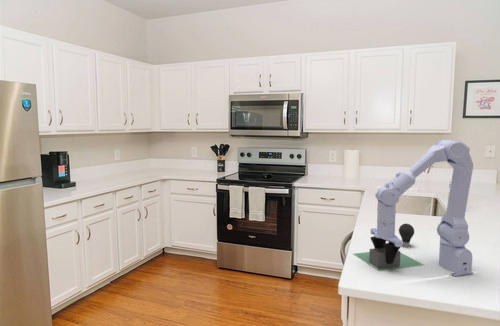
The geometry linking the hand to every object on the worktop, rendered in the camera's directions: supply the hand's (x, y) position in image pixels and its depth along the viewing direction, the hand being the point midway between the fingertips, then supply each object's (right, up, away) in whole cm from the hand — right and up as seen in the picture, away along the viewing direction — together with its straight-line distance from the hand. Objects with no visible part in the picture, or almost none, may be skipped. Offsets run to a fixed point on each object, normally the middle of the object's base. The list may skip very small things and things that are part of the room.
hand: (384, 260), depth 119 cm
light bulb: (+16, -1, +19) cm, 25 cm away
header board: (+3, -2, +5) cm, 6 cm away
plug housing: (0, -1, 0) cm, 1 cm away
